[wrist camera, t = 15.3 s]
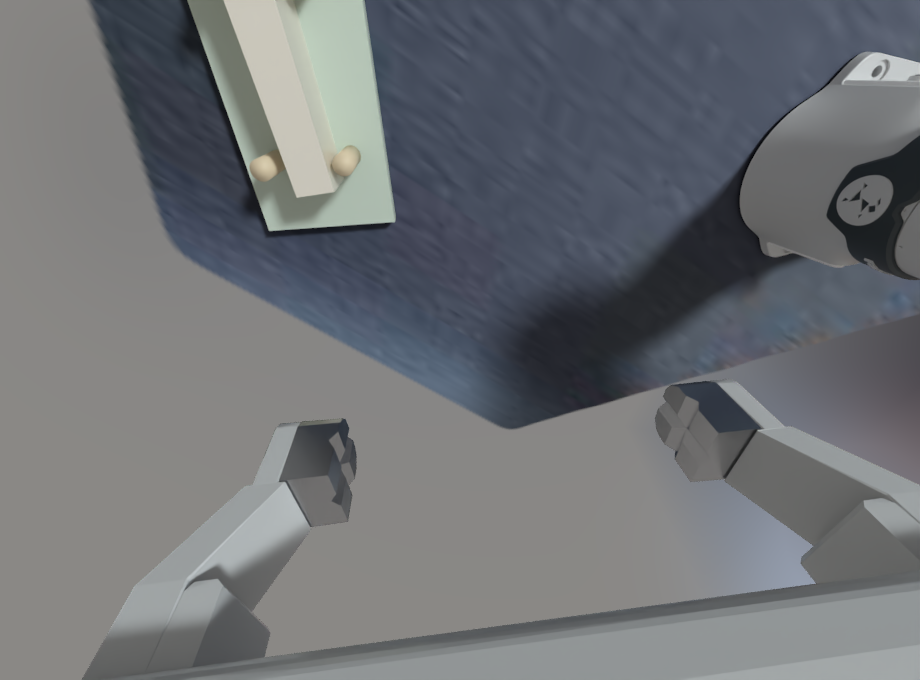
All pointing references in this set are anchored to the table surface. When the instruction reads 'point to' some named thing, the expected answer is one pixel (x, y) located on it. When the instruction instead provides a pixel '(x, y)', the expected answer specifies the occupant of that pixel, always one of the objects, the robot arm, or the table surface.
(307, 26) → the rack
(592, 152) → the table surface
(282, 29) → the off-white rectangular block
